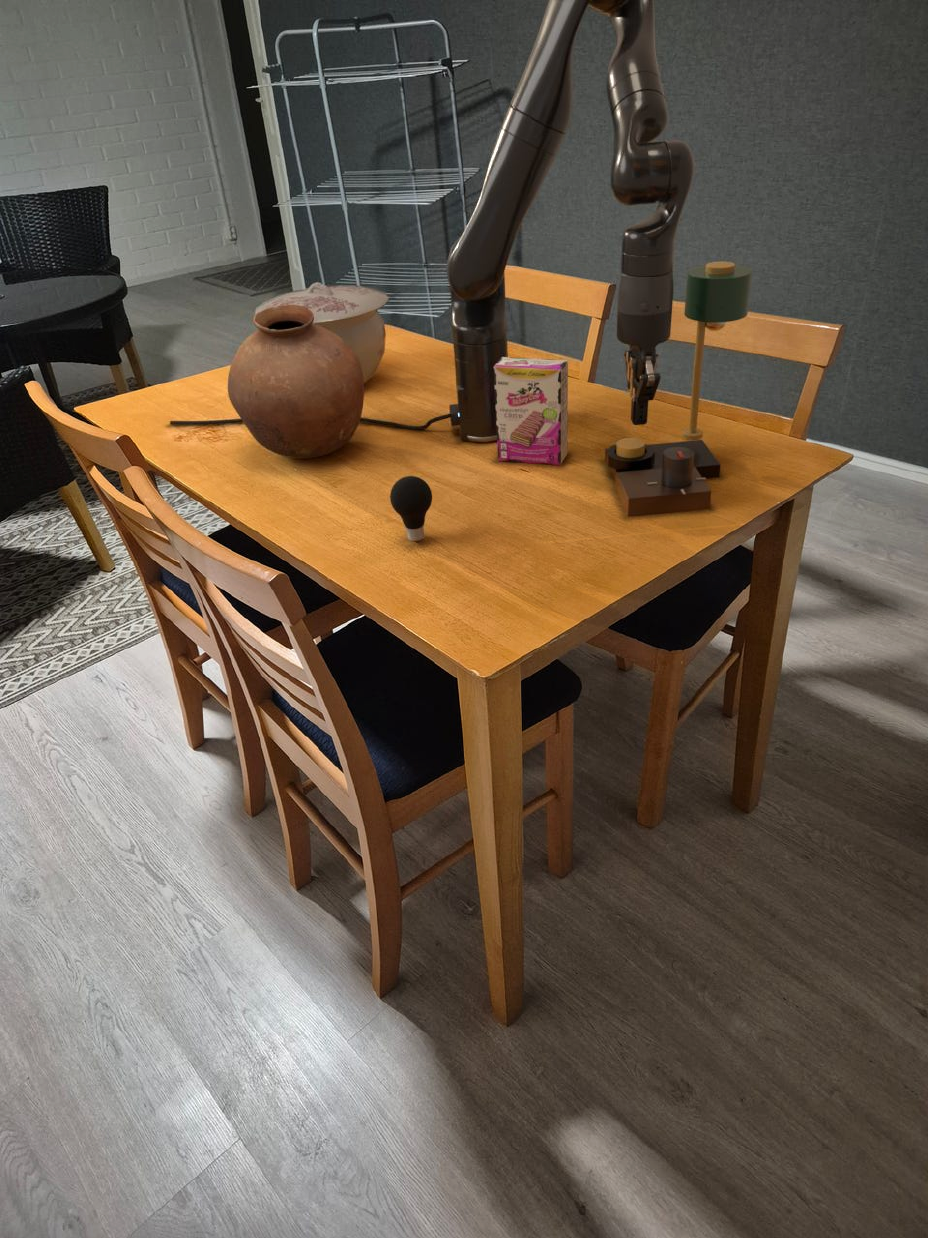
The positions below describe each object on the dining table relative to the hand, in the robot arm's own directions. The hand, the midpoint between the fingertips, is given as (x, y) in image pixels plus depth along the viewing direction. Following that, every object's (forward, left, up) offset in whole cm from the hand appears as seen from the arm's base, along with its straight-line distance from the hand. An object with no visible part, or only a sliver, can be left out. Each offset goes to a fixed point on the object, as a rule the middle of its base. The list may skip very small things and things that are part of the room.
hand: (638, 422), depth 128 cm
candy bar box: (-15, +11, -10) cm, 21 cm away
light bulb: (-35, -14, -10) cm, 39 cm away
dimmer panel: (+2, -8, -9) cm, 12 cm away
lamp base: (+5, +3, -9) cm, 11 cm away
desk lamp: (+12, +5, -5) cm, 14 cm away
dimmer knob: (+4, -8, -6) cm, 11 cm away
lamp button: (-1, +2, -6) cm, 6 cm away
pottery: (-54, +23, -10) cm, 60 cm away
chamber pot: (-52, +60, -10) cm, 80 cm away
